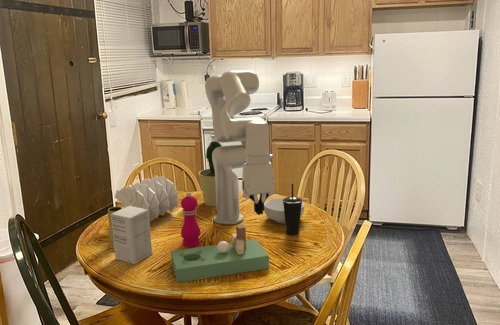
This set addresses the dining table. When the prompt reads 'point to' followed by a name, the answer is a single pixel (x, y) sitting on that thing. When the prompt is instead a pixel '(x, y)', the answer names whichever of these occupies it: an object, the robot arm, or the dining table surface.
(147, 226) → the supplement box
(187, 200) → the pepper mill
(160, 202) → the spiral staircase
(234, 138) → the robot arm
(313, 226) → the dining table surface
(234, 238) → the stacked wooden blocks
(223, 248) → the ball
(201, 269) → the putting mat
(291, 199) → the drinking cup
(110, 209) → the vase
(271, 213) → the cereal bowl
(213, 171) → the potted cactus
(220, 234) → the dining table surface
